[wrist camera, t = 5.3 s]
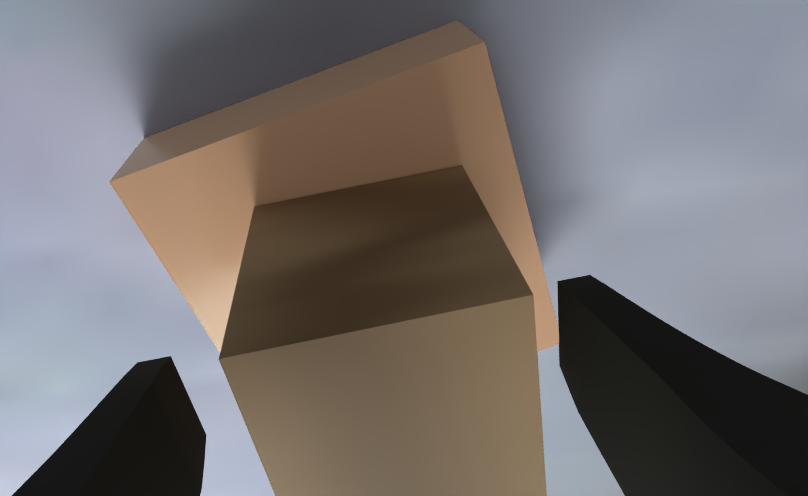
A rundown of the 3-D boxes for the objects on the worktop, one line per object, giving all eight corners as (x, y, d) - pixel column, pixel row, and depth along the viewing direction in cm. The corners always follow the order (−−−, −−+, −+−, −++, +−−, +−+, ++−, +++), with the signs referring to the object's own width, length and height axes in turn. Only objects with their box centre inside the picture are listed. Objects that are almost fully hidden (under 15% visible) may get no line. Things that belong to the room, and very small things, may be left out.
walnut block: (462, 165, 13) (533, 294, 8) (482, 330, 15) (546, 499, 11) (254, 206, 13) (219, 359, 8) (305, 366, 15) (298, 551, 11)
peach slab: (455, 18, 14) (484, 41, 12) (527, 281, 18) (562, 343, 16) (146, 134, 15) (109, 182, 12) (283, 366, 19) (276, 439, 16)
